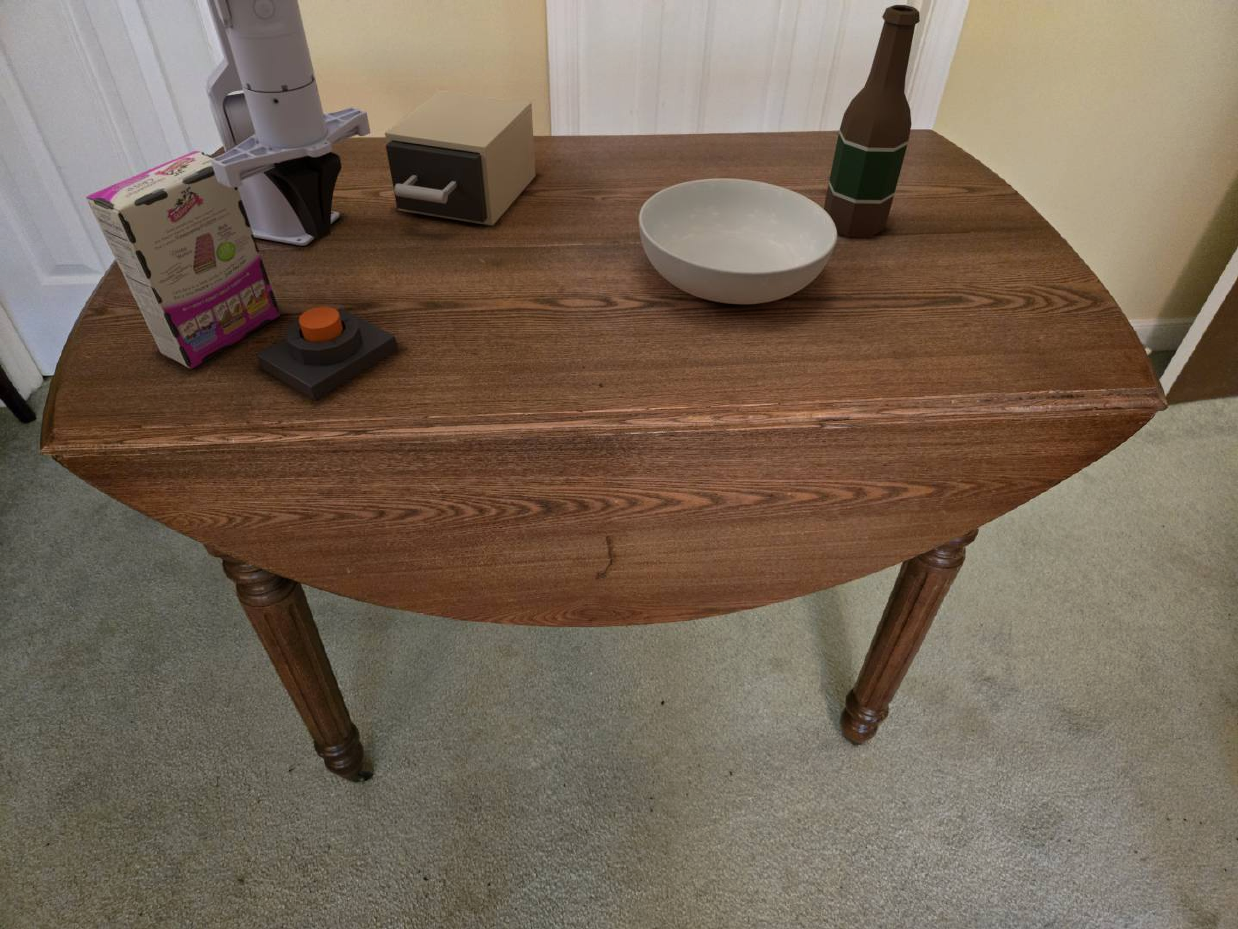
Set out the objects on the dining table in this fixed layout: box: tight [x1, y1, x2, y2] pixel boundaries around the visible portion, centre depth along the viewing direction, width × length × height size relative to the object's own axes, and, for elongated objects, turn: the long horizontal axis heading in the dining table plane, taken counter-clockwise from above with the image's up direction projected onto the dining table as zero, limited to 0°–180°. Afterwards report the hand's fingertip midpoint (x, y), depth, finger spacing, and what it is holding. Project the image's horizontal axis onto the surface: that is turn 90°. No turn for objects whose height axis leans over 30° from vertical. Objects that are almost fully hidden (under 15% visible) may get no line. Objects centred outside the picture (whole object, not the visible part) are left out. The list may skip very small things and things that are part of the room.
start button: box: [298, 306, 343, 342], centre depth 76 cm, size 4×4×2 cm
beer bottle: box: [823, 4, 921, 239], centre depth 92 cm, size 8×8×24 cm
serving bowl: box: [638, 177, 838, 305], centre depth 89 cm, size 21×21×7 cm
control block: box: [256, 308, 399, 402], centre depth 78 cm, size 10×8×4 cm
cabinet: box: [384, 89, 536, 227], centre depth 102 cm, size 15×13×10 cm
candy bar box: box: [85, 150, 281, 370], centre depth 76 cm, size 11×5×16 cm, turn 148°
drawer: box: [385, 141, 487, 222], centre depth 99 cm, size 18×11×8 cm, turn 163°
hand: (318, 233), depth 76 cm, fingers closed
